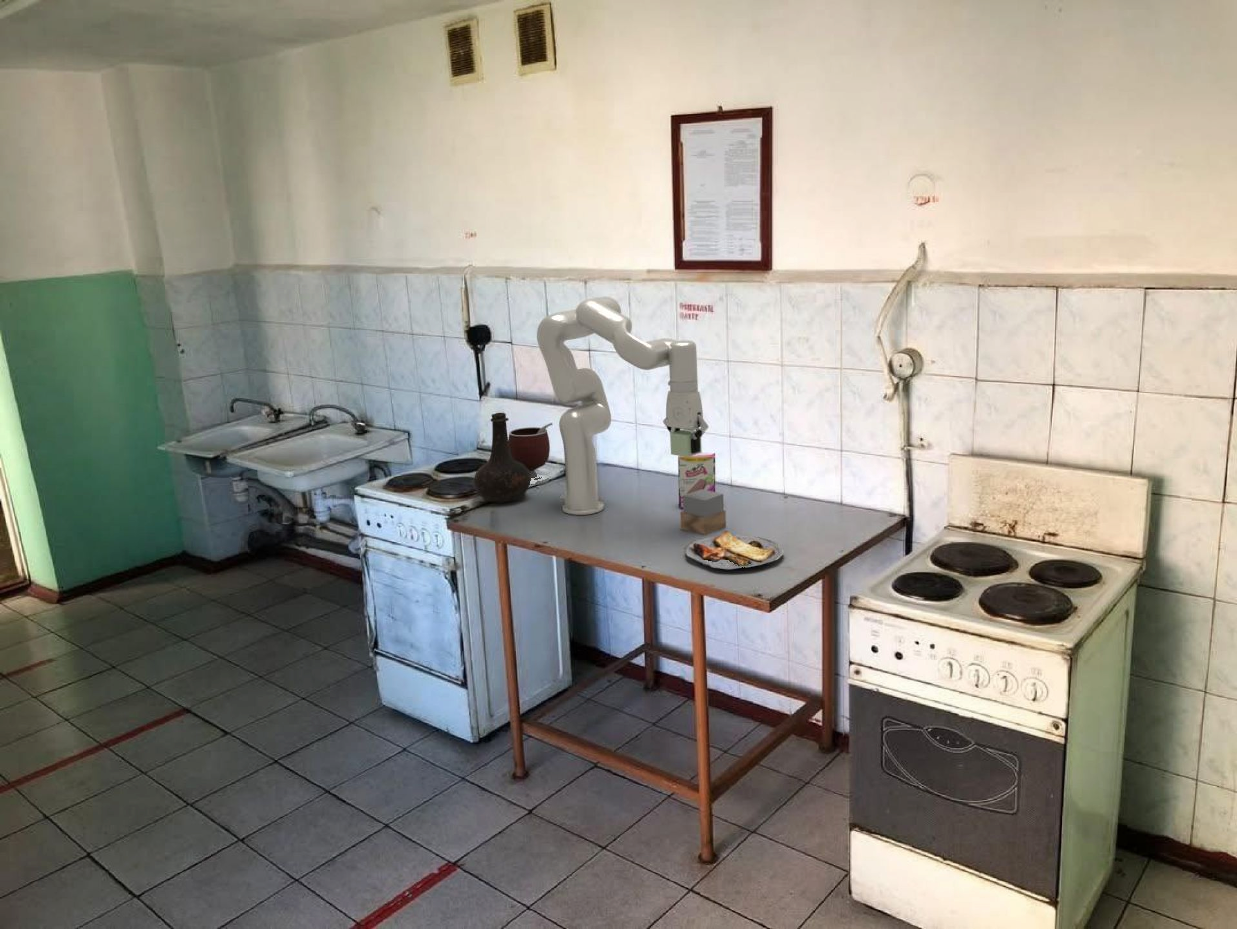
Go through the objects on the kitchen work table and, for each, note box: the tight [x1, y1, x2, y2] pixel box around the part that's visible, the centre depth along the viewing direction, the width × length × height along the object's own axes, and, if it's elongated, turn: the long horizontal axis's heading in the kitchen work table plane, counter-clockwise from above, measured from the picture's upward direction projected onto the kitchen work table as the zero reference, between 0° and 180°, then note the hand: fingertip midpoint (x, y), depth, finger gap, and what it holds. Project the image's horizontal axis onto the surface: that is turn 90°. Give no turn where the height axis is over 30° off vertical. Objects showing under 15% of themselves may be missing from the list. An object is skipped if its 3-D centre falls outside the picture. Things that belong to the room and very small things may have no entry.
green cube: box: [669, 429, 703, 457], centre depth 276 cm, size 6×6×6 cm
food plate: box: [684, 531, 784, 570], centre depth 259 cm, size 25×23×4 cm
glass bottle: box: [473, 412, 531, 504], centre depth 316 cm, size 18×18×28 cm
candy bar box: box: [677, 452, 717, 509], centre depth 301 cm, size 11×5×16 cm, turn 84°
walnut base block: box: [679, 509, 727, 536], centre depth 282 cm, size 9×9×5 cm
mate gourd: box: [508, 422, 554, 485], centre depth 338 cm, size 16×14×20 cm
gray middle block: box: [682, 489, 725, 518], centre depth 281 cm, size 8×8×5 cm
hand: (686, 450), depth 276 cm, fingers closed on green cube, 6 cm apart
